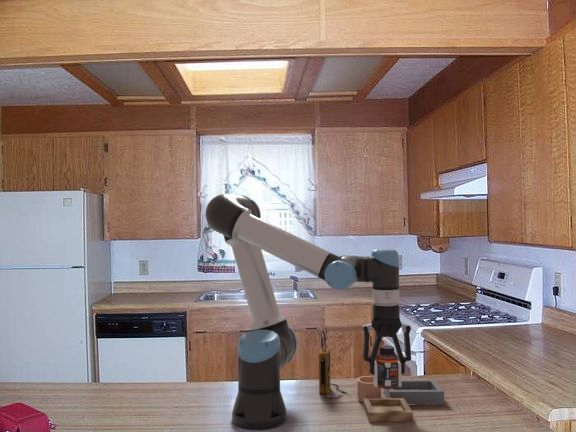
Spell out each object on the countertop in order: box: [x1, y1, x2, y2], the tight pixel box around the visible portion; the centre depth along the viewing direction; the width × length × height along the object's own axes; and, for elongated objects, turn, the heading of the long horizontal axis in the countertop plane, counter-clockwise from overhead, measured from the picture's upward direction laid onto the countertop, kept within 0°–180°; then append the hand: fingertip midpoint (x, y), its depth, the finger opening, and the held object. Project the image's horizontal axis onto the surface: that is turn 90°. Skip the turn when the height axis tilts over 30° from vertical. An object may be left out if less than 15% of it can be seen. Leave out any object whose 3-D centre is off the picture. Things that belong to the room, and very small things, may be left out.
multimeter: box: [318, 327, 351, 400], centre depth 163 cm, size 15×10×20 cm
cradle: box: [383, 379, 445, 406], centre depth 156 cm, size 16×11×4 cm
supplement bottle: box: [375, 344, 399, 390], centre depth 145 cm, size 6×6×11 cm
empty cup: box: [356, 375, 382, 403], centre depth 156 cm, size 7×7×6 cm
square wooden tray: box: [362, 397, 414, 423], centre depth 145 cm, size 12×12×2 cm
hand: (387, 385), depth 145 cm, fingers closed on supplement bottle, 6 cm apart
